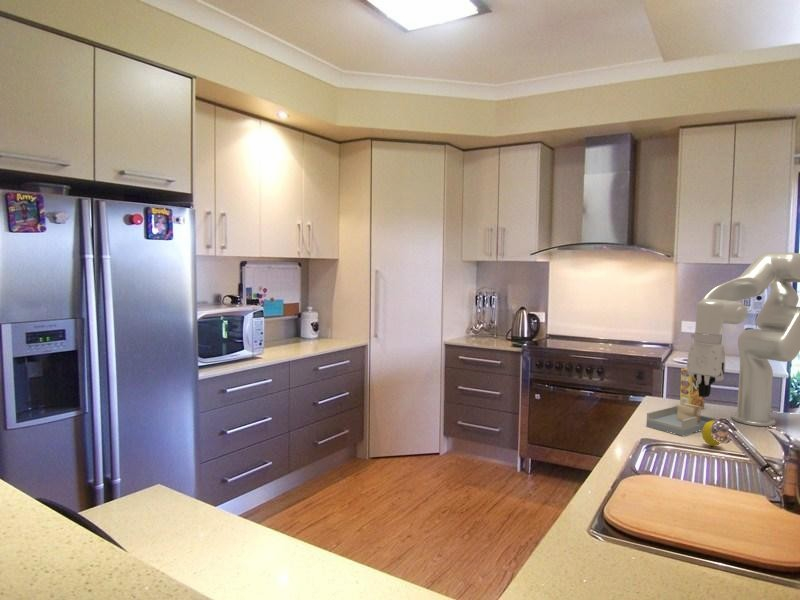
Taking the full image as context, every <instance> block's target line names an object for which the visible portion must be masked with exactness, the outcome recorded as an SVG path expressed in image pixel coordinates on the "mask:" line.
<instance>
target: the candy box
mask: <svg viewBox="0 0 800 600" xmlns="http://www.w3.org/2000/svg"><path fill="white" fill-rule="evenodd" d="M680 369H681V370H680V393H679V395H680V396H679V398H680V399H679V400H680V401H679V405H681V404H684V403H687V404H692V405H696V406H701V410H703V409H705V398H706V397H702V396H699V392H698V389H699V383H697V380H696V379H695V378H694V377H693V376H690V375H688V371H687V367H682V368H680ZM705 378H706V376H705Z"/></svg>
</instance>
